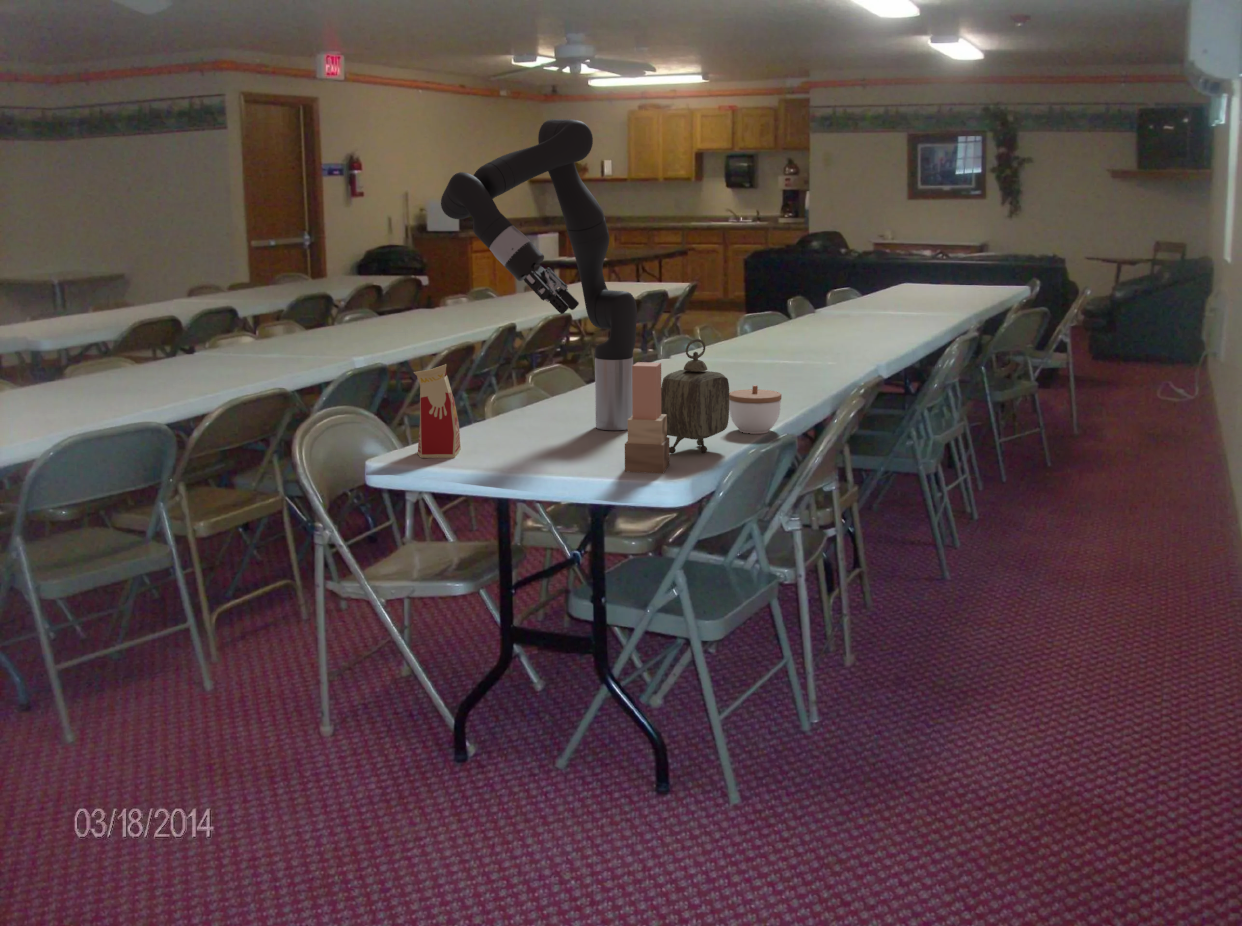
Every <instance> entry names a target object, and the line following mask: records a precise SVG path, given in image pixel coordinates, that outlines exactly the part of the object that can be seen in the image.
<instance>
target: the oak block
mask: <svg viewBox="0 0 1242 926" xmlns="http://www.w3.org/2000/svg"><path fill="white" fill-rule="evenodd" d="M667 437H668V435H667V414H661V416H660V417H659V418H658V419H656V420H651V419H633V415H632V416H631V417H630V418H629V419H628V429H627V441H628V444H656V445H661V444H662V443H663V442H664V441H665V440H666V438H667Z"/></svg>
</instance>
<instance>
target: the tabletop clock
mask: <svg viewBox="0 0 1242 926" xmlns="http://www.w3.org/2000/svg"><path fill="white" fill-rule="evenodd" d="M694 343H701V345H702V347H703V348H702V351H701V352H700V353H698V351H693V353H692V354H693V355H690V354H689V348H690V346H691V345H692V344H694ZM705 351H706V344H705V342H704V340H703V339H700V338H694V339H691V340H690V341H689V342H688V343H687V344H686V347H685V354H686V356H687V357H688V358H689V359H690V360H688V361H687V362H686V363H685V365H684V366H683V369H679V370H676V371H673V372H670V373H667V374H666V375H665V376H664V377H663V379H662V381H661V414H667V437H675V438H676V440H675V442H674V444H673V445H671V446H669V454H675V453H676V447H677V446H678V444H679V443H680V442H681V441H682V440H683V439H689V440H696V444H697V446H699V447H700V448H699V450H700V453H703V454H705V453H706V452H707V451H708V447H707V446H705V441H704V439H708V438H710V437H712V436H713V437H714V436H715V435H717V434H720V433H722V432H724V431H725V430H726V429H727V428H728V426H729V418H730V411H729V393H730V384H729V379H728V377H726V376H725V375H724V374H723V373H722V372H717V371H709V370H708V366H707V365H706V362H704V361H703V360H700V359H699V358H701V357H703V355H704V353H705Z"/></svg>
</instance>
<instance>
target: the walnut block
mask: <svg viewBox="0 0 1242 926" xmlns="http://www.w3.org/2000/svg"><path fill="white" fill-rule="evenodd" d="M669 447H670V436H667V438H666V440H665V441H664V442H663V443H662V444H661V445H656V444H628V440H627V441H626V442H625V443H624V472H625V471H630V472H629V473H644V472H646V473H647V474H649V473H650V474H664V473H665V472H666V470H667V468H668V467H669V466H670V453H669ZM646 473H645V474H646Z"/></svg>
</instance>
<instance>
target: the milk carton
mask: <svg viewBox="0 0 1242 926" xmlns="http://www.w3.org/2000/svg"><path fill="white" fill-rule="evenodd" d="M447 366H448V365H447V363H445V364H443V365H440V366H437V367H434V368H431V369H426V370H425V369H424V370H419V371H413V374H414V375H415V376H416V377H417V381H418V384H419V428H418V429H419V431H418V444H417V455H418V456H419V457H420V458H421V459H432V458H433V459H440V458H441V459H454V458H456V457H457V456H458V455H459V453H460V451H461V449H462V447H461V434H460V423H459V419H458V418H459V417H458V413H457V408H456V402H455V398H454V395H453V392H452V388H451V384H450V380H449V377H448V374H447Z"/></svg>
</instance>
